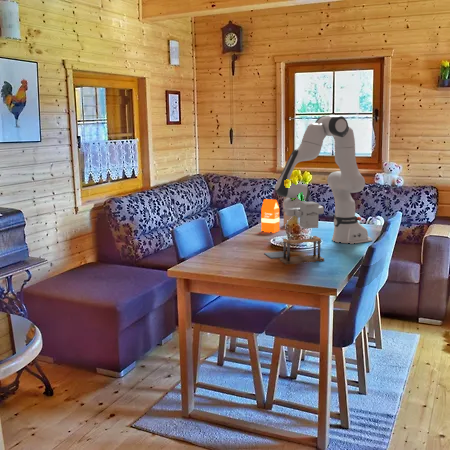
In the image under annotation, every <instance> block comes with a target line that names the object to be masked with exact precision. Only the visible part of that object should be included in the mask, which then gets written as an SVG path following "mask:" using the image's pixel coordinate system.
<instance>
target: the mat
mask: <svg viewBox="0 0 450 450" xmlns="http://www.w3.org/2000/svg"><path fill="white" fill-rule="evenodd" d="M263 254H264V255H265V256H267V257H268V258H270V259H280V258H284V250H283V251H273V252H271V251H270V252H264V253H263ZM286 257H287V253H286Z"/></svg>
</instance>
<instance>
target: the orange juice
mask: <svg viewBox="0 0 450 450" xmlns="http://www.w3.org/2000/svg"><path fill="white" fill-rule="evenodd" d="M262 201H263V202H262V206H261V209H260V211H261V215H260V216H261V218H260V219H261V222H260V223H261V232H262V231H264V232H263V233H270V232H272V234H275V233H277V232H279V231H280V207H279V203H278V201H277V199H271V198H269V199H267V198H264V199H263V200H262Z"/></svg>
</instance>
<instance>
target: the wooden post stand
mask: <svg viewBox="0 0 450 450" xmlns="http://www.w3.org/2000/svg"><path fill="white" fill-rule="evenodd" d="M282 240H283V252H284V259H286V254H287V261H290V257H291V244H299V243H300V244H301V243H313V248H312V249H313V254H312V255H313V256H316V255H318V258H320V256H321V241H322V238H320V237H318V236H316V235H314V236H313V237H312V238H303V239H294V240H293V239H291V240H290V239H287V238H286V237H285V238H283V239H282Z"/></svg>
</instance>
